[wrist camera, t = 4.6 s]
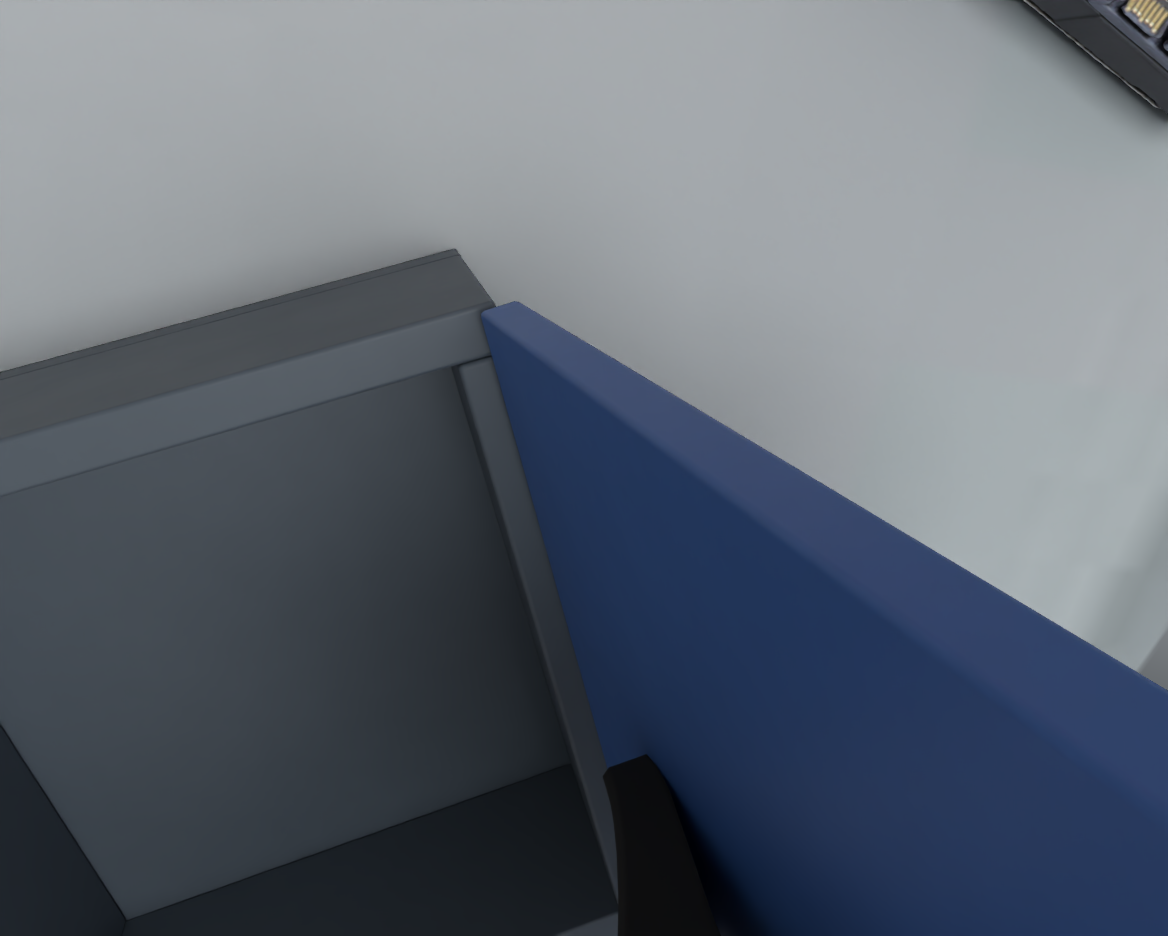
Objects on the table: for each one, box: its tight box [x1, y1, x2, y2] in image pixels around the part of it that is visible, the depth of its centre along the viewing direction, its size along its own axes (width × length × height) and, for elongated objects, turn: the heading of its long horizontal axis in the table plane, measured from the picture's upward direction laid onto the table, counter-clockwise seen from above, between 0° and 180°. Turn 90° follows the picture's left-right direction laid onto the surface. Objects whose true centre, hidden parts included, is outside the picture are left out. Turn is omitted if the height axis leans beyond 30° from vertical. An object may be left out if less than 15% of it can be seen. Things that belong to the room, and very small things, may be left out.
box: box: [0, 249, 618, 936], centre depth 17 cm, size 13×14×5 cm
